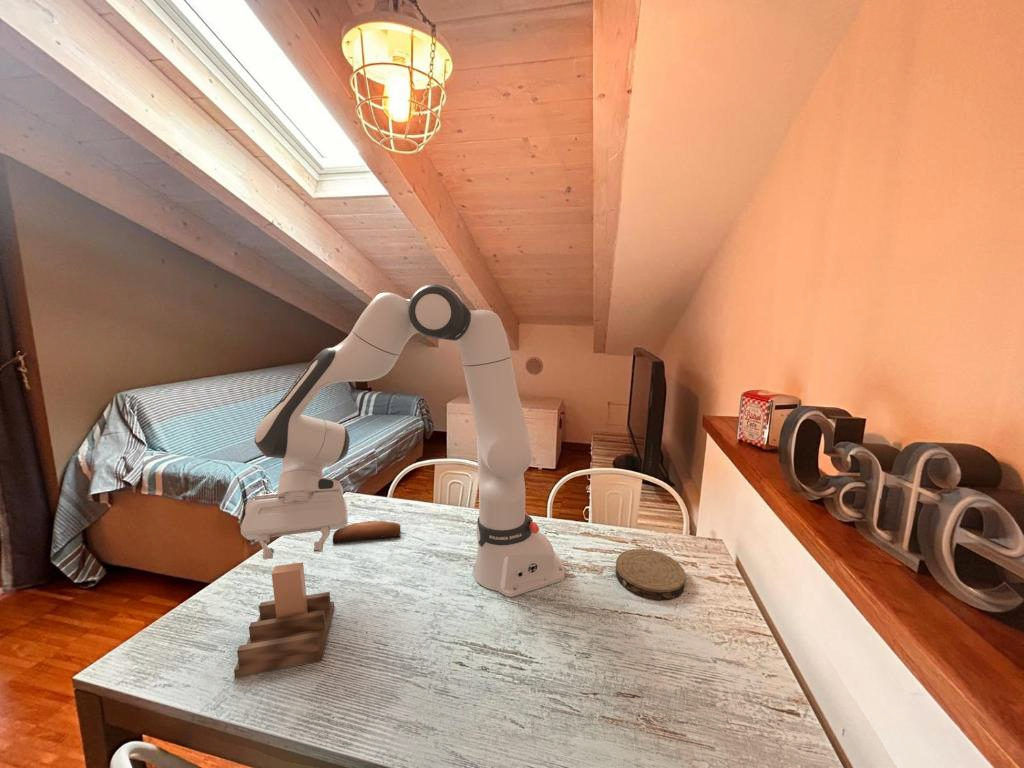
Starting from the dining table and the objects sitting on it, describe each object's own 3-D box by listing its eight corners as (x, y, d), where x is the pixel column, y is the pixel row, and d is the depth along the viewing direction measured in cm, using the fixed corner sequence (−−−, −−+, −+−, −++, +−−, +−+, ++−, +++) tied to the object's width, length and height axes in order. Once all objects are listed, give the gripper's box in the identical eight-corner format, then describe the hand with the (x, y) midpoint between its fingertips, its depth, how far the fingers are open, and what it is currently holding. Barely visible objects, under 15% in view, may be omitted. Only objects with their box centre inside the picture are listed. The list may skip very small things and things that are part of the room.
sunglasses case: (401, 522, 123) (400, 510, 119) (401, 544, 118) (399, 532, 113) (338, 528, 119) (334, 516, 115) (335, 551, 114) (330, 539, 110)
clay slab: (308, 615, 83) (303, 562, 81) (305, 623, 81) (300, 569, 79) (281, 619, 82) (275, 566, 80) (277, 628, 80) (271, 573, 78)
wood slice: (644, 552, 109) (645, 542, 108) (699, 586, 96) (700, 574, 95) (601, 572, 100) (602, 561, 100) (654, 612, 87) (655, 599, 87)
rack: (334, 607, 88) (332, 588, 87) (321, 660, 74) (319, 639, 73) (261, 619, 84) (259, 600, 83) (234, 677, 71) (231, 655, 70)
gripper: (242, 490, 86) (229, 559, 78) (346, 480, 91) (343, 543, 83) (252, 500, 91) (241, 566, 83) (350, 490, 96) (347, 551, 88)
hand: (293, 555), depth 83 cm, fingers open, 8 cm apart
